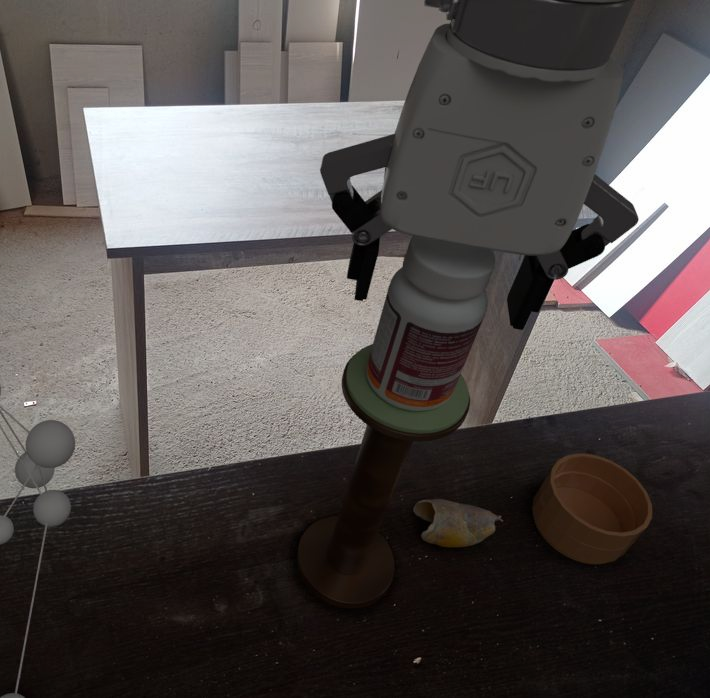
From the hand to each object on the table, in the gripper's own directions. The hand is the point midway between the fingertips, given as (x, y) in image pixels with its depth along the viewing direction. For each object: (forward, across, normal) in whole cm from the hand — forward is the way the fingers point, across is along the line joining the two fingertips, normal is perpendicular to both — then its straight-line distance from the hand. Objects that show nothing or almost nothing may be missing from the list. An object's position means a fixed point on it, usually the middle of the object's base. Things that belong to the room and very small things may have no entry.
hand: (436, 301), depth 45 cm
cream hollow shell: (+32, +10, +6) cm, 34 cm away
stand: (+32, 0, 0) cm, 32 cm away
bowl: (+32, +23, +10) cm, 40 cm away
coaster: (+8, 0, 0) cm, 8 cm away
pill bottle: (+8, 0, 0) cm, 8 cm away
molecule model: (+32, -31, -8) cm, 46 cm away
